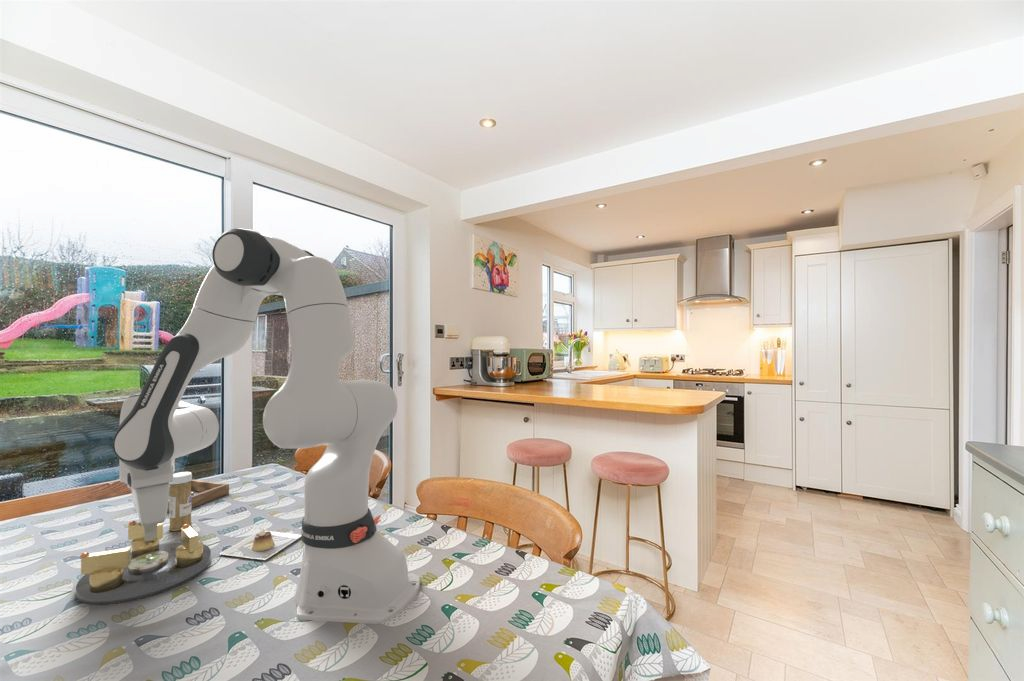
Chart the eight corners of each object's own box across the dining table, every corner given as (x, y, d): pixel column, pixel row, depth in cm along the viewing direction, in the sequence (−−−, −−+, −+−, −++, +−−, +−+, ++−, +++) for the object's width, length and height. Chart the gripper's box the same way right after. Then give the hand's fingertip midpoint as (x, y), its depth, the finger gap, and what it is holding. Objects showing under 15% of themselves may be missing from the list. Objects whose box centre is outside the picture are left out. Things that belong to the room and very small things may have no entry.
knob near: (207, 562, 85) (207, 529, 85) (180, 571, 82) (180, 537, 82) (197, 551, 89) (197, 519, 89) (171, 559, 86) (171, 526, 86)
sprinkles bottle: (191, 528, 104) (191, 474, 104) (167, 533, 102) (167, 478, 102) (192, 522, 108) (192, 469, 108) (169, 526, 106) (169, 473, 106)
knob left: (133, 575, 80) (133, 540, 80) (124, 587, 76) (124, 551, 76) (86, 583, 77) (86, 547, 77) (73, 597, 73) (73, 559, 73)
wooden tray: (228, 493, 128) (229, 483, 128) (178, 513, 114) (178, 502, 114) (191, 489, 132) (191, 479, 132) (137, 507, 118) (137, 496, 118)
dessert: (261, 534, 103) (261, 514, 103) (304, 539, 100) (304, 519, 101) (217, 559, 91) (217, 537, 91) (265, 565, 89) (265, 542, 89)
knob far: (169, 548, 90) (169, 517, 90) (149, 559, 86) (150, 526, 86) (139, 547, 91) (139, 516, 91) (119, 557, 87) (119, 525, 87)
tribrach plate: (233, 558, 91) (233, 538, 91) (127, 617, 71) (127, 592, 71) (164, 545, 96) (164, 527, 96) (47, 597, 76) (47, 575, 76)
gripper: (123, 461, 94) (123, 523, 94) (132, 482, 80) (132, 556, 80) (160, 455, 98) (160, 515, 98) (174, 475, 84) (174, 544, 84)
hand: (147, 533), depth 89 cm, fingers open, 6 cm apart
